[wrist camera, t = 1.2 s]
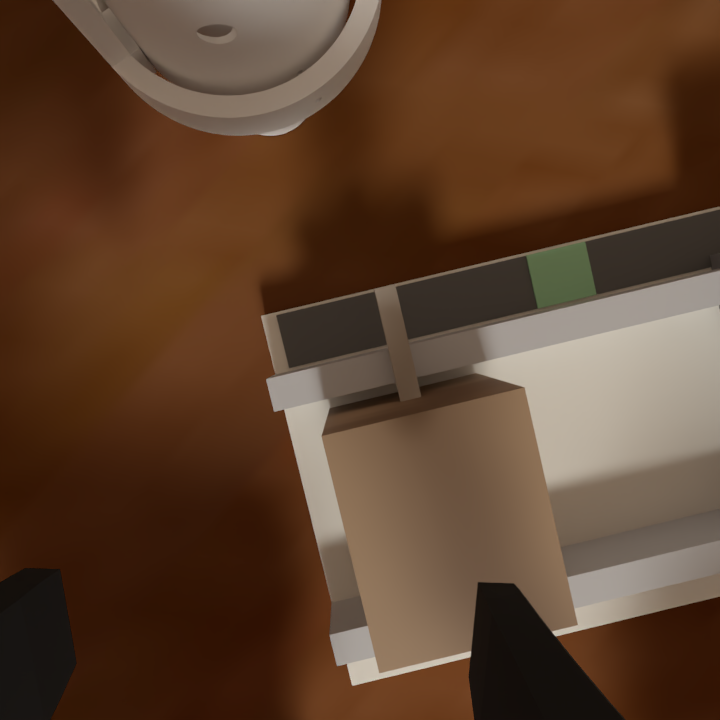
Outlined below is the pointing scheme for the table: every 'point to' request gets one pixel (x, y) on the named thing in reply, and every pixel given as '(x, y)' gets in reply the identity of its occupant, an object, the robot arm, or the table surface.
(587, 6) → the table surface
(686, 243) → the gauge base
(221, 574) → the table surface
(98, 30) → the white stepped post
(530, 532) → the gauge slider
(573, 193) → the table surface
